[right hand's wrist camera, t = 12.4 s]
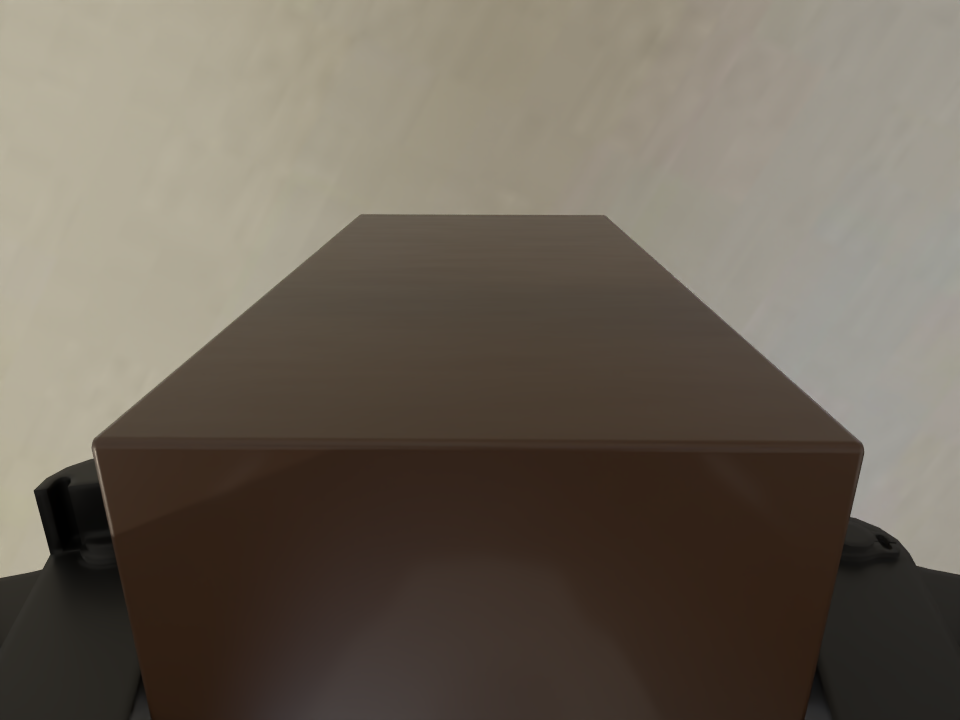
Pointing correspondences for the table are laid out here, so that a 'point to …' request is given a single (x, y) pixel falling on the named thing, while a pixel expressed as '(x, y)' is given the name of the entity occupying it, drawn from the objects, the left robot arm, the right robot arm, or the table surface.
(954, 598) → the right robot arm
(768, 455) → the walnut box
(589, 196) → the table surface
